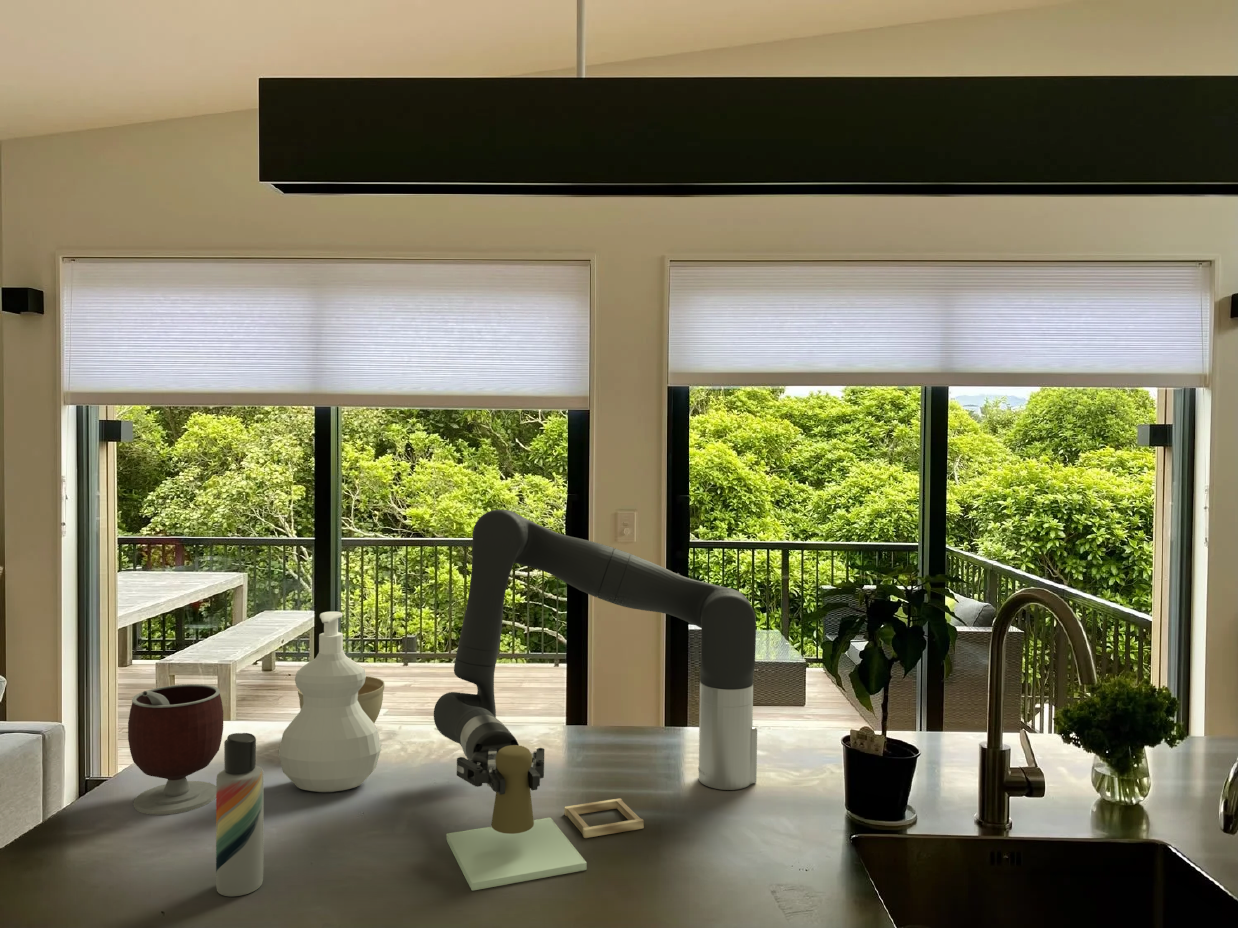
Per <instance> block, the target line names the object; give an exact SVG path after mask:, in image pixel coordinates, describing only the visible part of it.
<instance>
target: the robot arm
mask: <svg viewBox="0 0 1238 928" xmlns="http://www.w3.org/2000/svg"><path fill="white" fill-rule="evenodd" d="M471 550H472V551H471V553H472V554H471V573H470V574H471V575H470V583H469V590H468V596H467V597H468V598H467V603H466V608H465V611H464V616H463V617H464V618H463V621H462V626H461V629H460V630H461V631H460V635H459V640H458V645H457V651H456V655H455V660H454V665H453V673H454V675H455V676H456V677H457V678H459V679H460V680H462V681H466V682H468V683H471V684H474V685H475V686H476V690H477V694H476V693H466V692H456V691H449V692H446V693H443V694H442V695H441V696H440V697H439V698H438V700H437V701H436V702H435V705H434V709H433V721H434V725H435V727H436V729H437V731H439V733H440V734H441V735H442V736H444V737H445V738H447V739H449V740H451V741H452V742H454V743H456V744H459V745H460V747H461V748H462V749H461V750H462V752H463V754H464V757H463V756H460V757H456V776H457V777H459V778H461V779H462V780H464V781H465V782H467V783H469V784H470V785H472V786H474V787H482V786H483V784H486V785H487V787H490V788H491V790H492V791H493V792H495V793H496V792H498V793H499V795H502V794H505V779H504V777H503V776H502V774H501V773H500V772H499V771H498V769H497V767H496V763H495V758H496V755H497V753H498V751H499V750H500V749H501V748H503V747H505V746H510V745H519V746H520V744H519V743H518V740H517V739H516V737H515V736H514V735H513V734H512V732H510V730H509V729H508V728H507V726H506V725H505V724H504V723H503V722H502V721H500V720H499V719H498V718H497V717H496V716H497V711H496V710H497V708H496V701H495V699H496V698H495V670H496V664H497V660H498V654H499V649H500V644H501V639H502V637H501V636H502V631H503V619H504V603H505V596H506V591H507V590H506V589H507V587H508V586H507V585H508V581H509V578H510V575H511V572H512V569H513V566H514V564H518V565H521V566H526V567H529V568H533V569H536V570H540V571H543V572H544V573H547V574H549V575H552V576H554V577H556V578H557V579H558V580H560V581H562V582H564V583H566V584H567V585H569V586H571V587H573V588H574V589H577V590H578V591H581V592H583V593H585V594H587V595H590V596H592V597H595V598H597V599H600V600H602V601H606V602H608V603H610V604H614V605H617V606H621V607H624V608H627V609H634V610H641V611H646V612H647V611H648V612H653V613H654V612H655V613H660V614H664V615H665V614H666V615H670V616H672V617H676V618H678V619H680V620H683V621H685V622H687V623H690V624H692V625H694V626H696V627H698V628H699V629H701V633H700V634H701V636H700V637H701V639H700V640H701V641H700V645H701V646H700V666H699V667H700V668H699V718H698V721H699V723H698V724H699V725H698V726H699V727H698V728H699V731H698V732H699V733H698V767H697V768H698V781H699V782H700V783H701V784H702V785H704V786H706V787H708V788H712V789H717V790H724V791H726V790H727V791H729V790H730V791H731V790H732V791H733V790H735V791H737V790H742V789H745V788H748V787H749V786H750V785H752V784H756V783H757V778H758V777H757V771H758V769H757V768H758V766H757V765H758V729H757V727H756V726H754V725H753V723H754V721H753V716H754V715H753V714H754V713H753V712H754V673H755V667H756V642H757V640H756V639H757V619H756V612H755V611H754V608H753V606H752V605H751V603H750V601H749V599H748V597H746V596H745V594H743V593H742V592H740V591H739V590H736V589H734V588H730V587H727V586H722V585H717V584H714V583H713V584H712V583H709V582H705V581H700V580H697V579H693V578H689V577H686V576H683V575H681V574H678V573H676V572H673V571H672V570H670V569H667V568H665V567H664V566H661V565H659V564H656V563H654V562H652V561H650V560H647V559H645V558H642V557H639V556H638V555H636V554H635V555H634V554H632V553H629V552H627V551H623V550H620V549H619V548H616V547H615V548H614V547H612V546H609V545H606V544H603V543H598V542H595V541H591V540H588V539H583V538H579V537H574V536H570V535H566V534H562V533H559V532H556V531H553V530H552V529H550V528H547V527H544V526H542V525H540V524H538V523H536V522H534V521H532V520H530V519H528V518H527V517H523V516H522V515H520V514H519V513H516V512H515V511H512V510H508V509H493V510H489V511H487V512H485V513H483V515H481V516H479V518H478V520H477V521H476V522H475V525H474V526H473V529H472V549H471ZM531 754H532V765H531V768H530V769H529V771H528V776H529V787H530V791H537V790H538V787H540V785H541V779H543V778H545V748H543V747H538V748H536V751H535V750H534V751H533V752H531Z"/></svg>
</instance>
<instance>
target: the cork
mask: <svg viewBox="0 0 1238 928" xmlns="http://www.w3.org/2000/svg"><path fill="white" fill-rule="evenodd" d="M531 753H532V752H531V751H530V749H529V748H527V746H526V747H525V746H524V745H520V744H519V745H510V746H505V747H503V748H501V749H500V750H499V751H498V753H497V755H496V758H495V763H496V767H497V769H498V771H499V772H500V773H501V774H502V776H503V777H504V779H505V794H502V795H499V793H498V792H495V796H494V797H495V798H494V803H493V804H494V805H493V810H492V817H491V825H490V827H492V828H493V829H494V830H496V831H498V832H501V833H507V834H515V833H522V832H525V831H528V830H530V829H531V828H532V827H533V825H534V820H535V819H534V814H533V813H534V812H533V803H532V801H533V800H532V794H531V789H530V787H529V776H528V771H529V769H530V768H531V765H532V754H531Z"/></svg>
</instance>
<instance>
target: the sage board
mask: <svg viewBox="0 0 1238 928" xmlns="http://www.w3.org/2000/svg"><path fill="white" fill-rule="evenodd" d="M446 842H447V844H448V847H449V848H450V850H451V853H452V854H453V856H454V858H455V860H456V862H457V864H458V866H459V869H460V870H461V872H462V874H463V875H464V878H465V880H466V882H467V884H468V886H469V888H470V890H471V891H477V890H482V889H484V890H485V889H489V888H490V889H491V888H493V887H494V888H495V887H500V886H506V885H510V884H516V883H522V882H528V881H532V880H537V879H539V880H540V879H543V878H548V877H554V876H561V875H565V874H571V873H577V872H583V871H587V870H588V869H587V868H588V867H587V864H588V862H587V861H586V860H585V858H584V857H583V856H582V855H581V853H579V851H578V849H576V847H574V845H573V844H572V842H570V840H569V838H568V837H567V836H566V835H565V834H564V833H563V831H562V830H561V829H560V828H559V826H558V825H557V824H556V822H555V821H554V820H553V819H552V818H551V817H544V818H537V819H534V825H533V827H532V828H531V829H530V830H528V831H525V832H522V833H515V834H507V833H501V832H498V831H496V830H494V829H493V828H492V826H486V827H480V828H473V829H467V830H462V831H454V832H449V833H448V832H447V833H446Z"/></svg>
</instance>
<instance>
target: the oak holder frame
mask: <svg viewBox="0 0 1238 928" xmlns="http://www.w3.org/2000/svg"><path fill="white" fill-rule="evenodd" d="M563 809H564V810H563V812H564V814H563V815H564V816H565V817H567V818H568V819H569V820H570V821H571V822H572V823H573V825H574V826H575V827H576V828H577V830H579V832H580V833H581V834H582V837H583V838H584V839H588V838H589V839H590V838H593V837H598V836H605V835H611V834H612V835H613V834H617V833H622V832H623V833H624V832H629V831H636V830H642V829H644V825H645V822H644V819H643V818H640V817H639V816H638V815H637V814H636V813H635V812H634V811H633V810H632V809H631V808H630V807H629V806H628V805H627V804H626V803H625V802H624V801H623V799H622V798H614V799H607V800H606V799H605V800H600V801H599V800H598V801H593V802H587V803H580V804H574V805H567V806H564V807H563ZM615 809H616V810H618V811H619V813H621V814H622V816H624V817H625V818H626V819H627V820H624V821H618V822H611V823H605V824H599V825H593V826H589V825H588V823H586V822H585V821H584V819H583V818H582V817H581V816H580V815H582V814H589V813H594V812H601V811H609V810H615Z"/></svg>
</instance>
